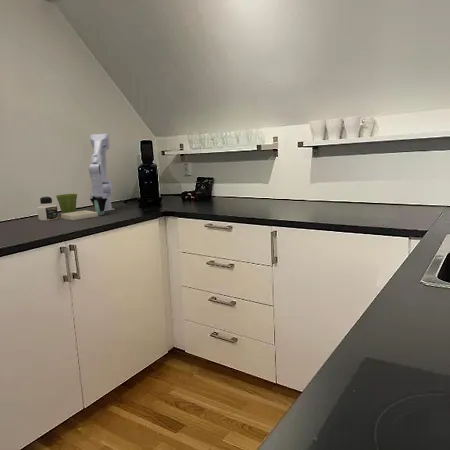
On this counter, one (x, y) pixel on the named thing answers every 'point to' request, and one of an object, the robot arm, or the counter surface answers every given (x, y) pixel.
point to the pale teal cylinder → (98, 208)
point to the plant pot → (67, 202)
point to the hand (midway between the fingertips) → (99, 210)
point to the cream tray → (79, 215)
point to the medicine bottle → (47, 209)
